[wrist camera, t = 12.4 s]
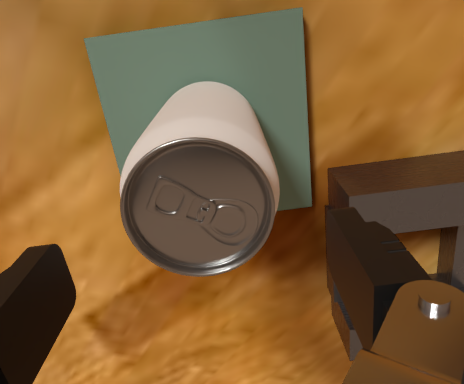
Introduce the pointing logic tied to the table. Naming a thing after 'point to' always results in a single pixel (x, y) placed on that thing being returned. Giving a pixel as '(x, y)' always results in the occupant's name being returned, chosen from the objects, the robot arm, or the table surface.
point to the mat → (215, 70)
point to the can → (200, 183)
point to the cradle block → (403, 213)
